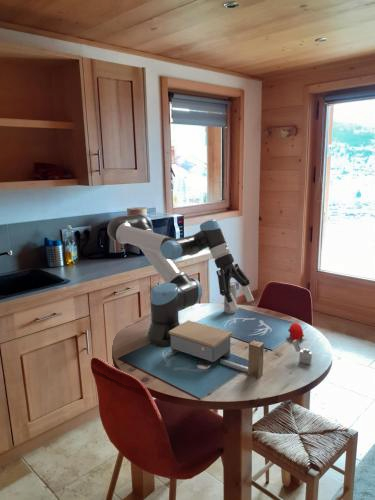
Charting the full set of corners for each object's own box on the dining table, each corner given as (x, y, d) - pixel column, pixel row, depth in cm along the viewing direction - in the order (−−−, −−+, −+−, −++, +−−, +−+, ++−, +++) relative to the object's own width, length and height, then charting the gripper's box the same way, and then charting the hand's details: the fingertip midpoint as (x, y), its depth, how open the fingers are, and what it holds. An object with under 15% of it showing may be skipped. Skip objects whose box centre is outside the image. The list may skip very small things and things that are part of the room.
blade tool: (218, 364, 144) (218, 335, 141) (222, 361, 146) (223, 331, 144) (258, 378, 134) (259, 346, 132) (262, 374, 137) (263, 343, 134)
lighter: (311, 362, 144) (312, 343, 143) (310, 364, 143) (311, 344, 141) (292, 357, 148) (293, 338, 146) (291, 359, 147) (292, 340, 145)
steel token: (194, 367, 143) (194, 365, 142) (201, 362, 146) (201, 359, 146) (205, 371, 140) (205, 369, 139) (212, 366, 144) (212, 363, 143)
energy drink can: (237, 313, 192) (238, 285, 189) (226, 314, 191) (226, 286, 188) (233, 309, 198) (234, 281, 195) (222, 310, 197) (222, 282, 194)
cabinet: (167, 355, 151) (167, 332, 149) (188, 342, 162) (188, 320, 160) (212, 371, 139) (213, 346, 137) (232, 356, 150) (232, 332, 148)
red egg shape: (287, 325, 169) (285, 323, 164) (301, 323, 168) (299, 320, 162) (292, 344, 166) (289, 342, 161) (306, 341, 164) (304, 339, 159)
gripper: (213, 257, 143) (235, 310, 140) (244, 248, 163) (264, 295, 160) (198, 264, 147) (219, 316, 145) (230, 255, 167) (249, 300, 165)
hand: (243, 305), depth 153 cm, fingers open, 13 cm apart
